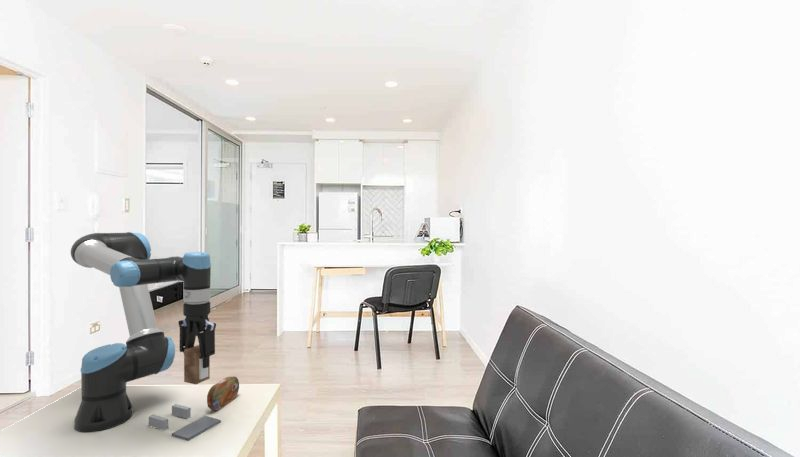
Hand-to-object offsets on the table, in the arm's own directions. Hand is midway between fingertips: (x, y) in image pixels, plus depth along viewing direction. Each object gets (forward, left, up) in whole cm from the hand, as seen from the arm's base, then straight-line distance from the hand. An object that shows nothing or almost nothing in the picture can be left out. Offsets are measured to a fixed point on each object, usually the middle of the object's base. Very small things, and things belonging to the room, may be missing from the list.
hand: (197, 376), depth 123 cm
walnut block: (0, 0, -1) cm, 1 cm away
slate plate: (0, 0, -17) cm, 17 cm away
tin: (-6, +16, -17) cm, 24 cm away
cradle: (-12, 0, -17) cm, 20 cm away
